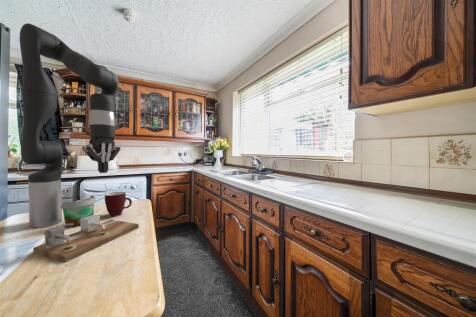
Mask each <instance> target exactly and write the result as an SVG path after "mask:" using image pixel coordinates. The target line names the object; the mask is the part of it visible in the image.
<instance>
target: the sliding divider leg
mask: <svg viewBox="0 0 476 317" xmlns="http://www.w3.org/2000/svg"><path fill="white" fill-rule="evenodd" d="M103 223H104V222H101V216H100V215H95V214H93V215H91V216H88V217H84V218H81V219H80V226H79V227H80V228H79V229H80V231H83V232H91V231H93V230H96V229H98V228H100V227H102V231H104V224H103Z"/></svg>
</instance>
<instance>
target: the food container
mask: <svg viewBox="0 0 476 317" xmlns="http://www.w3.org/2000/svg"><path fill="white" fill-rule="evenodd" d="M96 203H97V198H96V197H95V196H94V195H90V197H87V198H84V199H82V198H81V199H77V200H74V201H70V202H65V201H64V202H63V201H62V204H61V208H62V214H63V218H64V225H65V226H64V228H78V227H80V219H81V218H84V217H88V216H91V215H94V212H95V210H94V209H95V204H96Z"/></svg>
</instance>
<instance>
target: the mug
mask: <svg viewBox="0 0 476 317" xmlns="http://www.w3.org/2000/svg"><path fill="white" fill-rule="evenodd" d="M126 201H128V202H129V204H128V205H127V206H125V203H126ZM104 203H105V207H106V210H107V213H108V215H110V217H119V216H121V215H122V213H123V211H124V209H128V208H129V207H131V206H132V204H133V200H132V199H131V198H130V197H129V196H128V197H127V196H126V191H112V192H108V193H105V194H104ZM120 214H121V215H120ZM118 215H119V216H118Z"/></svg>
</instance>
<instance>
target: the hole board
mask: <svg viewBox="0 0 476 317" xmlns="http://www.w3.org/2000/svg"><path fill="white" fill-rule="evenodd" d="M102 223H103V224H104V231H102V227H100V228H98V229H96V230H93V231H91V232H83V231H81V230H79V231H77V232H76V231H75V232H74V233H71V234H68V235H67V234H65V226H61V225H60V226H59V225H56V226H53V227H50V228H46V229H44V237H45V238H44V243H43V244H39V245H37V246H34V247H33V251H32V253H34V254H35V255H36V254H37V255H40V256H44V257H47V258H51V259H55V260H58V261H62V262H64V263H67V262H69V261H72V260H73V259H76V258H78V257H80V256H81V255H84V254H86V253H88V252H91V251H93V250H95V249H97V248H99V247H101V246H103V245H106V244H107V243H109V242H112V241H114V240H116V239H118V238H121V237H122V236H124V235H126V234H128V233H131V232H134V231H135V230H137V229H139V227H140V226H139V225H140V224H139V223H136V222H135V223H134V222H128V221H122V220H117V219H116V220H115V219H109V220H107V221H104V222H102Z"/></svg>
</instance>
